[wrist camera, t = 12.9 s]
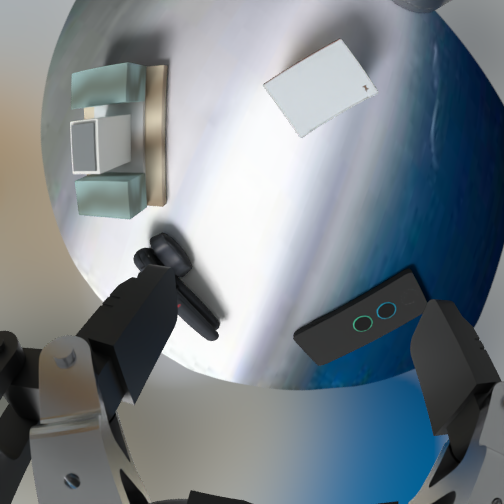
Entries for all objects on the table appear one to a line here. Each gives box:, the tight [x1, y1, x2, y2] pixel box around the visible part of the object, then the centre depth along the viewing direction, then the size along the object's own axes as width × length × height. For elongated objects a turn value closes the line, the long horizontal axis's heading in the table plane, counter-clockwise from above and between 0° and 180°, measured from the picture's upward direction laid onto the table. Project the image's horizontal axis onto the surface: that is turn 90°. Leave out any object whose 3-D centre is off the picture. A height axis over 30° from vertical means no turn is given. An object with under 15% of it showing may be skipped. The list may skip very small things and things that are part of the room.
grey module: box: [70, 114, 131, 174], centre depth 30 cm, size 4×6×7 cm, turn 176°
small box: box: [263, 39, 379, 138], centre depth 25 cm, size 8×6×10 cm
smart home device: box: [293, 269, 427, 365], centre depth 42 cm, size 8×2×20 cm
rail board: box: [71, 62, 168, 219], centre depth 32 cm, size 18×12×6 cm, turn 176°
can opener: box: [134, 233, 219, 341], centre depth 42 cm, size 18×7×6 cm, turn 29°
